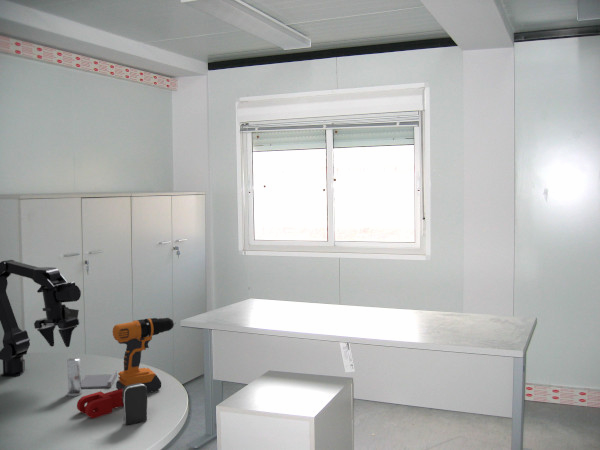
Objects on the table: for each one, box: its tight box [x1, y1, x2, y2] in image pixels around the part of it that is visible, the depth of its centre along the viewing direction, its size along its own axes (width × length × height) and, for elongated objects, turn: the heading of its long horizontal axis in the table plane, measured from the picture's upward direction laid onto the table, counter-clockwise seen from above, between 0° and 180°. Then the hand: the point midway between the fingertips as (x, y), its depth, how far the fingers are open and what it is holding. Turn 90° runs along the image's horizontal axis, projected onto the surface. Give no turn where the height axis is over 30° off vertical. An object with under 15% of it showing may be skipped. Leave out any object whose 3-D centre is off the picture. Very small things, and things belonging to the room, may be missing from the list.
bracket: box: [81, 370, 118, 390], centre depth 211 cm, size 11×12×2 cm
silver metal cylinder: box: [67, 357, 82, 398], centre depth 199 cm, size 4×4×12 cm
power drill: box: [112, 317, 176, 394], centre depth 203 cm, size 22×7×25 cm, turn 124°
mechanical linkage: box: [76, 389, 124, 419], centre depth 187 cm, size 16×7×5 cm, turn 137°
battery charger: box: [122, 383, 148, 426], centre depth 178 cm, size 7×4×11 cm, turn 125°
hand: (60, 346), depth 211 cm, fingers open, 9 cm apart
